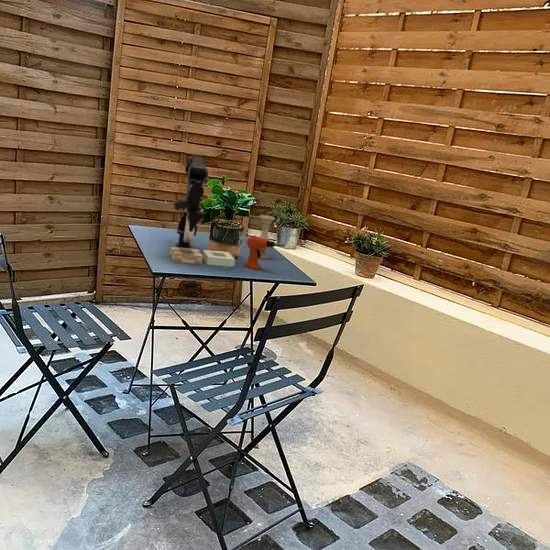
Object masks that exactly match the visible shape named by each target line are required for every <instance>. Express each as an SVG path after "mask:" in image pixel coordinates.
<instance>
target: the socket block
mask: <svg viewBox="0 0 550 550" xmlns="http://www.w3.org/2000/svg"><path fill="white" fill-rule="evenodd" d="M169 255H170V257H171V258H172V261H173V262H174V263H183V264H184V263H185V264H196V265H203V256H202V253H201V252H200V250H199V249H198V248H181V247H178V246H170V249H169Z"/></svg>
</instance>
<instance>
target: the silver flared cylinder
mask: <svg viewBox="0 0 550 550" xmlns="http://www.w3.org/2000/svg"><path fill="white" fill-rule="evenodd" d="M194 230H195V228H194V229H193V231H192V232H190V231H189V219H188V218H187V219H186V226H185V233H184V242H187V243H190V244H192V243H194V237H195V236H194Z"/></svg>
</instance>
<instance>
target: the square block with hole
mask: <svg viewBox="0 0 550 550" xmlns="http://www.w3.org/2000/svg"><path fill="white" fill-rule="evenodd" d="M201 255H202V256H203V258H202V260H203V261H204V262H205V264H206V265H209V266H218V267H219V266H220V267H229V268H230V267H231V268H235V263H236V259H235V257H234V256H233V255H232V254H231V253H230V252H229V251H220V250H208V249H202V253H201Z"/></svg>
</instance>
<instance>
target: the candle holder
mask: <svg viewBox="0 0 550 550" xmlns="http://www.w3.org/2000/svg"><path fill="white" fill-rule="evenodd" d="M259 219H262V222H263V224H262V226H261V228H262V231H261V234H260V235H259V237H260V238H264V239H267V240H269V241H270V239H269V236H268V233H269V229H270V224H271V223H272V221H275V220H276V218H275V216H272V215H269V214H268V215H267V214H260V215H259ZM267 249H268V248H267V247H266V248H261V249H258V250H260V254H261V257H259V258H258V259H261V260H269V259H270V255H269V254H268V253H267V252H266V250H267Z"/></svg>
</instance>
